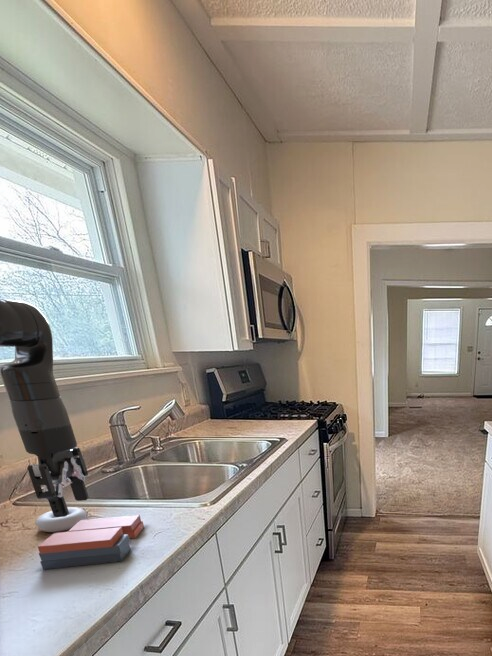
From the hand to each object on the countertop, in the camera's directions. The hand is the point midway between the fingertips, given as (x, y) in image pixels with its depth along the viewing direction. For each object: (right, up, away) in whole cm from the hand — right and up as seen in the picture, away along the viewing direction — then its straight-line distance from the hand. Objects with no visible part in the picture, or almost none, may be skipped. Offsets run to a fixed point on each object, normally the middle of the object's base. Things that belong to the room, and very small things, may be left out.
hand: (72, 507), depth 78 cm
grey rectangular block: (0, -11, +4) cm, 11 cm away
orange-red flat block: (-3, -6, +15) cm, 16 cm away
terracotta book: (0, -7, +3) cm, 8 cm away
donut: (-17, -4, +20) cm, 27 cm away
